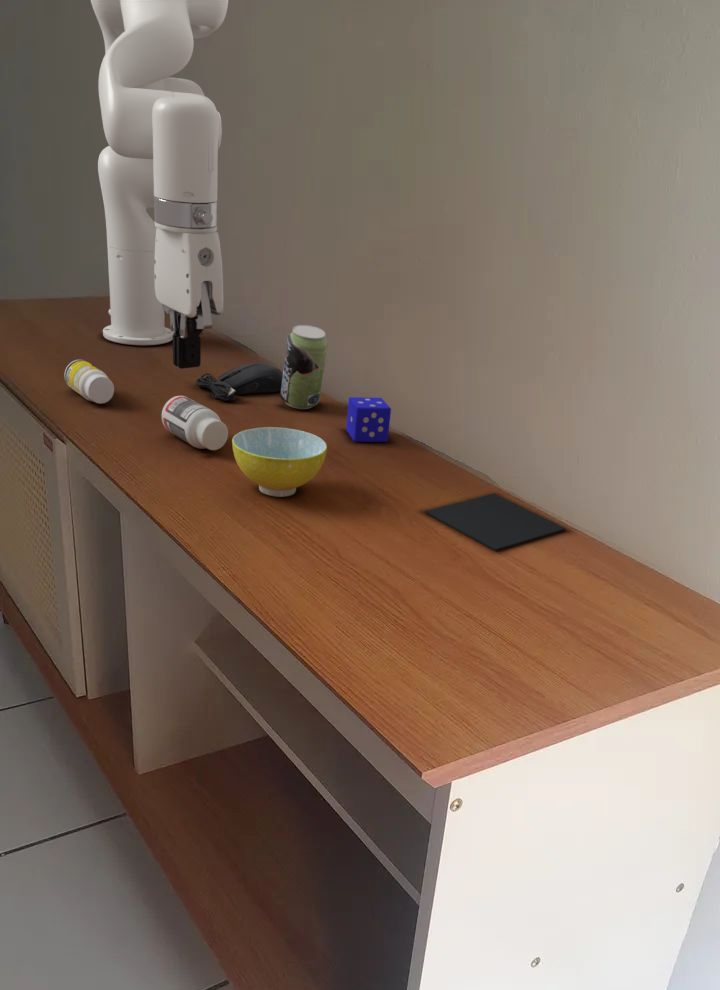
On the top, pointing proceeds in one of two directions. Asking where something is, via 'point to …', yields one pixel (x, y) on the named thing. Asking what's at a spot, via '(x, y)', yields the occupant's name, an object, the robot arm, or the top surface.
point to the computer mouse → (243, 381)
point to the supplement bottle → (89, 381)
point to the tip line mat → (495, 521)
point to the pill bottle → (194, 423)
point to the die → (368, 419)
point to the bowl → (278, 458)
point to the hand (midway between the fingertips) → (186, 365)
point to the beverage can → (303, 366)
